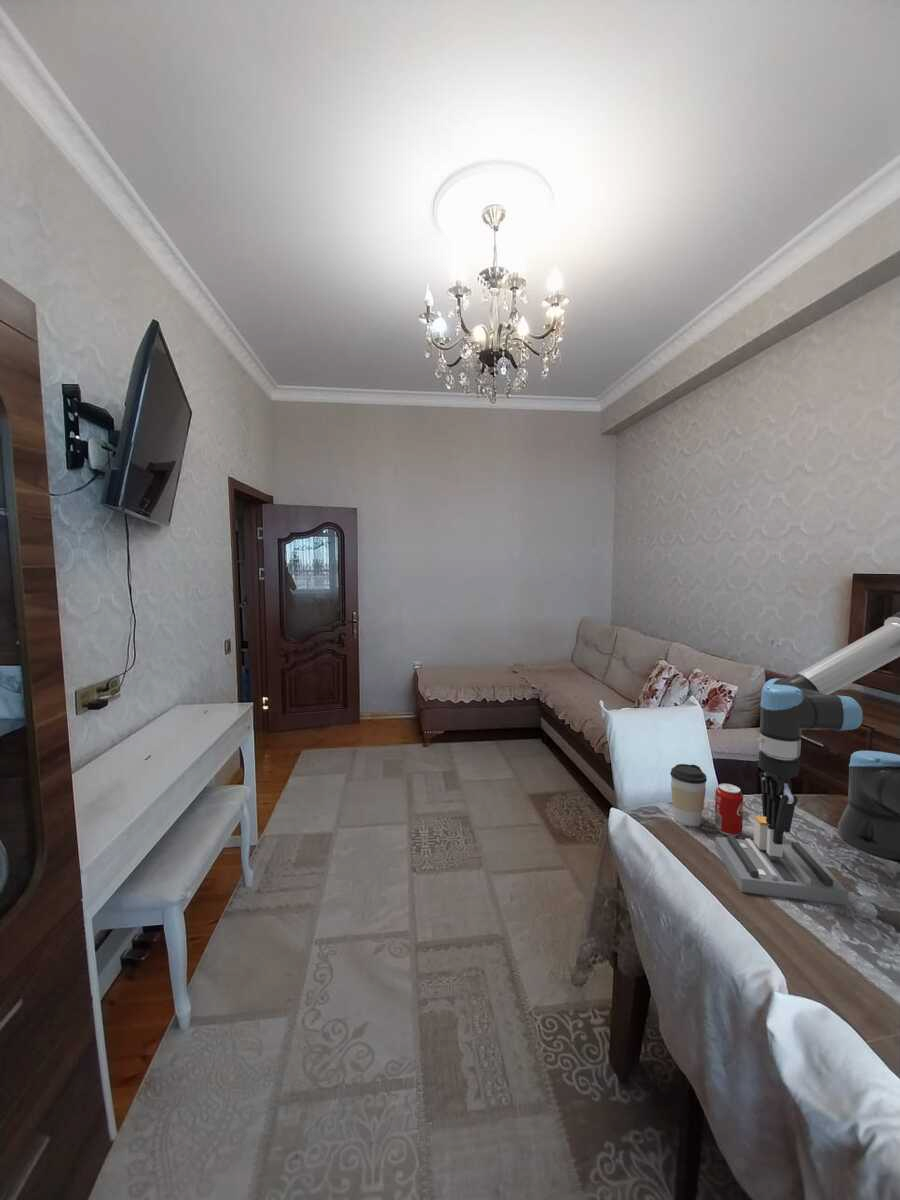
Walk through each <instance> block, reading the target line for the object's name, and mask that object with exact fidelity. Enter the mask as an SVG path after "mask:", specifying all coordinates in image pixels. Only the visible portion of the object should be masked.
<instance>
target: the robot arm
mask: <svg viewBox="0 0 900 1200" xmlns="http://www.w3.org/2000/svg"><path fill="white" fill-rule="evenodd" d="M898 658H900V611H899V612H896V613H895V614H894V615H891V616H890V617H887V619H885V620H884V623H883V626H881V627H879V628H877V629H875V630H873V631H872V632H870V633H868V634H865V636H862V637H861V638H859V639H857V640H855V641H854V642H852V643H850V644H848V645H846V646H845V647H843V648H840V649H839V650H837V651H836V652H833V653H831V654H830V655H828V656H826V657H824V658H823V659H821V660H819V661H817V662H816V663H814V664H812V665H810V666H808V667H806V668H805V669H803V670H801V671H799V672H798V673H796V674H793V675H792V676H790V677H788V678H785V679H784V678H777V677H776V678H771V679H769V680H767V681H766V682H765V683H764V684H763V686H762V689H761V695H760V696H761V697H760V703H759V704H760V705H759V706H760V716H759V717H760V718H759V720H760V722H759V729H760V730H759V737H757V742H758V743H759V747H758V749H759V750H760V751H759V752H758V767H759V769H760V770H762V771H763V772H759V775H758V776H759V779H760V787H761V790H760V791H761V799H762V800H761V803H762V804H761V807H762V817H766V822H767V823H768V826H767V849H766V852H767V853H768V855H769V856H777V857H783V844H784V838H785V835H784V834H785V833H790V832H791V829H792V824H793V823H792V822H793V818H794V812H795V807H796V805H797V804H798V799H799V798H798V796H797V795H793V794H792V789H793V788H792V781H791V780H792V778H795V777H797V776H799V775H800V762H801V761H800V759H799V758H800V756H801V744H802V743H801V741H802V730H808V731H809V730H817V731H822V730H823V731H838V732H841V731H850V730H851V731H852V730H856V729H858V728H859V727H860V726H861V724H862V723H863V715H864V714H863V710H862V707H861V705H860V704H859V702H858V701H857V700H855V699H854V698H853V697H851V696H849V695H847V696H845V695H839V694H835V695H831V694H833V693H834V692H836V691H839V690H841V689H842V688H843V687H846V686H848V685H850V684H851V683H853V682H856V681H857V680H858V679H861V678H862V677H864V676H866V675H868V674H870V673H871V672H873V671H875V670H877V669H879V668H881V667H883V666H885V665H886V664H889V663H890V662H892V661H894V660H896V659H898ZM848 767H849V768H848V792H847V793H848V795H847V806H846V807H845V809H844V811H843V813H842V815H841V816H840V819H839V821H838V823H837V833H838V836H839V837H840V838H841V839H842V840H844V842H846V843H848V844H849V845H850V846H853V847H855V848H857V849H859V850H861V851H863V852H866V853H868V854H871V855H874V856H877V857H881V858H886V859H890V860H896V861H900V754H897V753H891V752H885V751H878V750H877V751H876V750H858V751H854V752H853V753H852V754H850V760H849V764H848Z"/></svg>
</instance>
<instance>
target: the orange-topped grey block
mask: <svg viewBox="0 0 900 1200" xmlns="http://www.w3.org/2000/svg"><path fill="white" fill-rule="evenodd" d="M753 823H754V825H753V826H754V829H753V841H754V843H755V844H756V846H757V847H758V848H759V849H760V850H766V849H767V826H768V823H767V822H766V817H764V816H760V815H759V816H758V815H755V816H754V822H753Z"/></svg>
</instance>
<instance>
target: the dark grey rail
mask: <svg viewBox="0 0 900 1200" xmlns="http://www.w3.org/2000/svg"><path fill="white" fill-rule="evenodd" d="M726 836H727V837H726V838H727V841H728V842H729V843H728V844H730V845H731V847H732V848H733V850H734V851H735V853H736V854H737V856H738V857H739V859H740V861H741V862H742V864H743V865H744V867H745V868H746V870H747V873H749V874H750V876H751V877H756V878H759V871H758V870H757V868H756V867H755V866H754V864H753V863H752V861H751V860H750V858H749V857H748V855H747V854H746V853H745V851H744V850H743V848H742V847H741V845H740V844H739V842H738V841H737V840H736V839H737V838H736V836H734V835H726Z"/></svg>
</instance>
